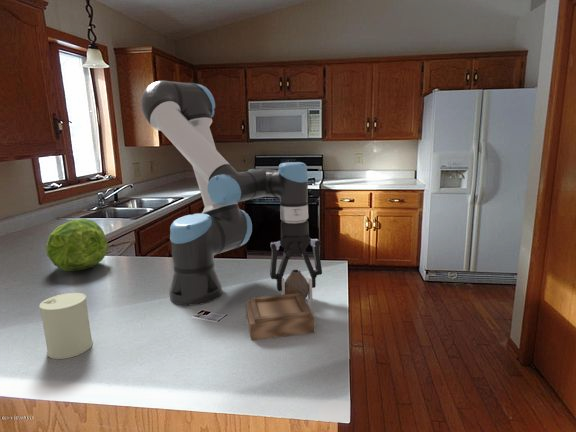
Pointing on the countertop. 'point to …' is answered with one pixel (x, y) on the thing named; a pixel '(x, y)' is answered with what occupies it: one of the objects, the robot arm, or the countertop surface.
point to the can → (66, 325)
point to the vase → (296, 284)
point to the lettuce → (77, 245)
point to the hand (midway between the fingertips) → (296, 299)
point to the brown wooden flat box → (279, 316)
